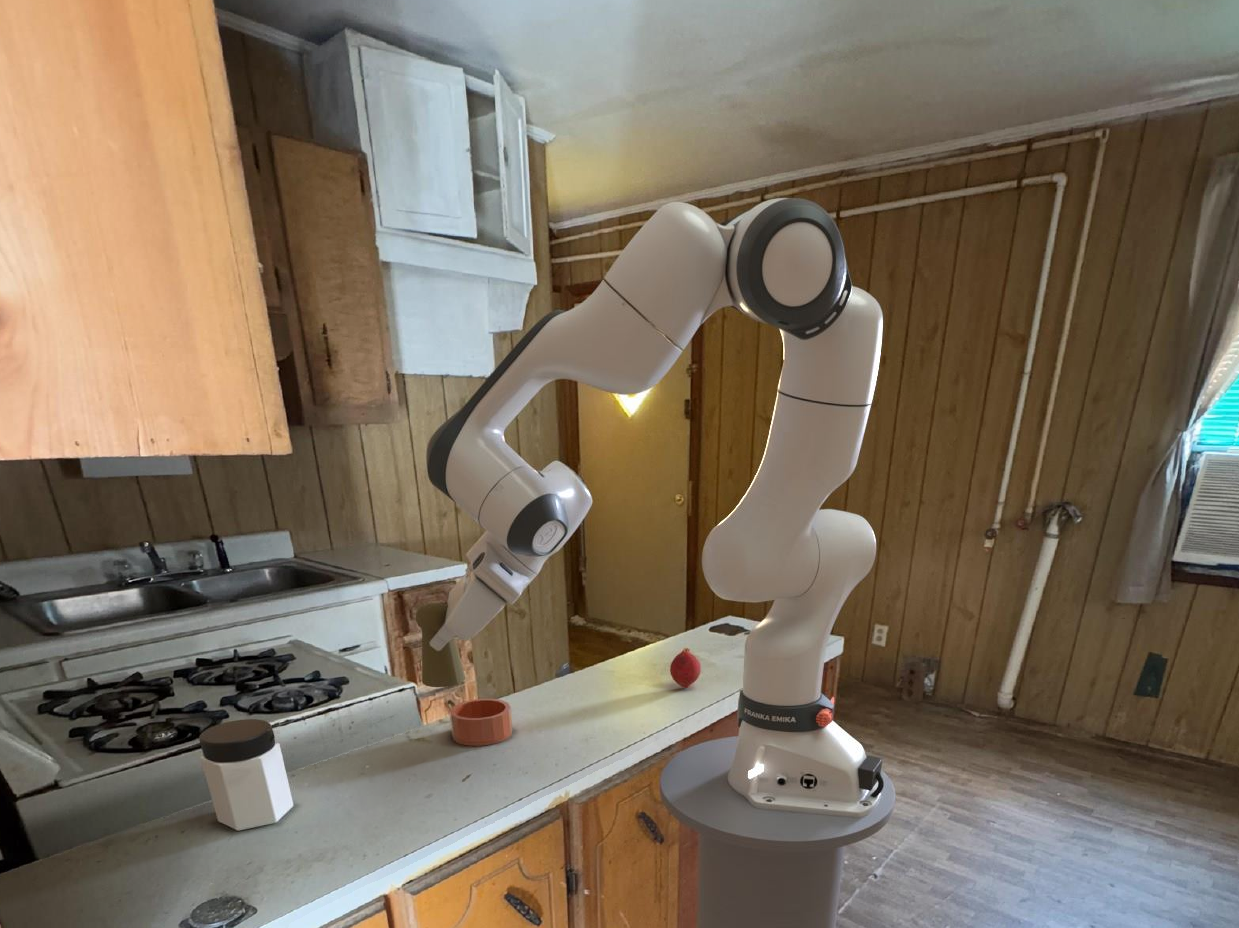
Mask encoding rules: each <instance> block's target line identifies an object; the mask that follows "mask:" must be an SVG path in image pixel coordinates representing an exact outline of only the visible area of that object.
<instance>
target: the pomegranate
mask: <svg viewBox="0 0 1239 928" xmlns="http://www.w3.org/2000/svg"><path fill="white" fill-rule="evenodd" d="M701 667H702V666H701V662H700V660H699V659H698V658H697V657H696V656H695V654H693V653H692V652H691V650H690V648H689V647H688V646H687V647H684V648H683V649H682V651H681V652H679V653H678V654H677V655H675V656H674V658H673V660H672V661H671V663H670V666H669V673H670V676H671V679H672V680H673V681H674V682H675V683H676V684H677V685H678V686H680V687H682V688H684V689H687V688H689V687H690V686H691V685H692V684H694V683H695V682H696V681H698V679H699V677H700V675H701V671H702V668H701Z"/></svg>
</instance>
